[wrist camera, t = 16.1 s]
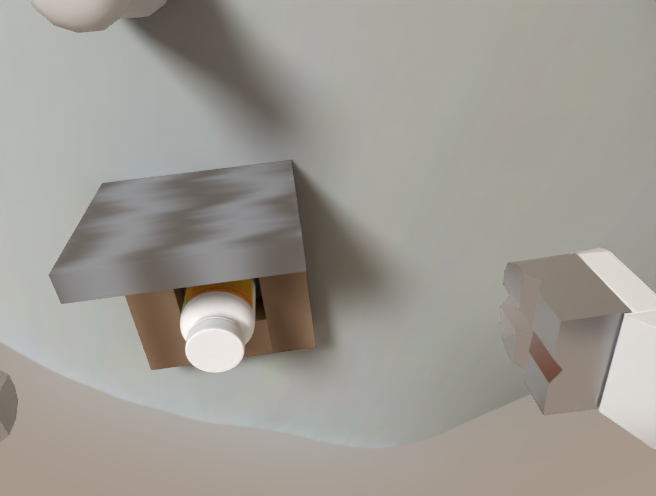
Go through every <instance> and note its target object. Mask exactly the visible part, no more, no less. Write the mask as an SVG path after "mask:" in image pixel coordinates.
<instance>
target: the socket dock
mask: <svg viewBox="0 0 656 496" xmlns="http://www.w3.org/2000/svg"><path fill="white" fill-rule="evenodd" d="M306 271H307V269H306V261H305V254H304V246H303V238H302V231H301V224H300V217H299V210H298V203H297V196H296V189H295V182H294V175H293V168H292V161H291V160H289V161H280V162H272V163H264V164H256V165H248V166H240V167H232V168H223V169H215V170H207V171H199V172H191V173H183V174H175V175H167V176H158V177H150V178H142V179H134V180H126V181H118V182H110V183H102V185H101V186H100V188H99V190H98V191H97V193H96V195H95V197H94V198H93V200H92V202H91V203H90V205H89V207H88V209H87V210H86V212H85V214H84V215H83V217H82V219H81V221H80V222H79V224H78V226H77V227H76V229H75V231H74V233H73V234H72V236H71V238H70V239H69V241H68V243H67V245H66V246H65V248H64V250H63V251H62V253H61V255H60V257H59V258H58V260H57V262H56V263H55V265H54V267H53V269H52V270H51V272H50V274H49V277H50V279H51V281H52V284H53V286H54V288H55V290H56V293H57V295H58V297H59V300H60V302H61V304H65V303H72V302H80V301H87V300H94V299H102V298H109V297H117V296H124V295H125V297H126V300H127V303H128V306H129V308H130V311H131V314H132V317H133V320H134V322H135V325H136V328H137V331H138V334H139V336H140V339H141V342H142V345H143V348H144V351H145V353H146V356H147V359H148V362H149V365H150V367H151V370H156V369H163V368H170V367H177V366H184V365H192V364H191V363H190V362H189V360H188V358H187V356H186V352H185V346H186V341H185V339H184V337H183V336H182V333H181V330H180V317H181V312H182V308H183V303H184V298H185V290H184V287H192V286H199V285H207V284H214V283H222V282H229V281H237V280H244V279H252V278H259V282H260V287H261V293H262V298H260V299H255V327H254V332H253V335H252V337H251V338H250V340H249V341H248V342H247V343H246V345H245V350H244V356H243V357H248V356H255V355H262V354H270V353H277V352H284V351H291V350H298V349H305V348H312V347H316V346H315V338H314V330H313V322H312V315H311V307H310V299H309V291H308V284H307V276H306Z"/></svg>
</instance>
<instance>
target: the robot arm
mask: <svg viewBox="0 0 656 496" xmlns="http://www.w3.org/2000/svg"><path fill="white" fill-rule="evenodd" d="M503 285H504V287H505V288H506V290H507V291H508V293H509V294H510V296H509V297H508V298H507V299H506V300H505V302H504V303H503V304H502V305H501V306H500V321H499V324H500V330H501V337H502V341H503V344H504V346H505V349H506V351H507V353H508V355H509V357H510V359H511V360H512V362H513V363H515V364H517V365H518V366H520V367H522V368H524V369H525V370H526V374H525V381H524V383H525V385H526V386H527V388H528V390H529V392H530V393H531V395H532V396H533V398H534V400H535V402H536V403H537V405H538V407H539V408H540V410H541V412H542V413H543V415H550V414H557V413H566V412H574V411H582V410H590V409H598V408H599V412H600V413H602V414H603V415H605V416H606V417H608V418H609V419H611V420H612V421H613V422H615V423H616V424H618V425H619V426H621V427H622V428H624V429H625V430H626V431H628V432H629V433H631V434H632V435H634V436H635V437H637V438H638V439H640V440H641V441H642V442H644V443H646V444H647V445H648V446H650V447H651V448H653V449H654V450H656V294H655V293H654V292H653V291H652V290H651V289H650V288H649V287H648V286H646V285H645V284H644V283H643V282H642V281H641V280H640V279H639V278H638V277H637V276H636V275H635V274H634V273H632V272H631V271H630V270H629V269H628V268H627V267H626V266H625V265H624V264H623V263H622V262H621V261H620V260H619V259H617V258H616V257H615V256H614V255H613V254H612V253H611V252H610V251H608V250H606V249H603V248H596V249H590V250H584V251H578V252H572V253H569V254H565V255H558V256H551V257H544V258H537V259H530V260H523V261H516V262H509V263H508V264H507V267H506V269H505V271H504V279H503ZM17 404H18V399H17V394H16V390H15V386H14V384H13V382H12V380H11V379H10V376H9V375H8V374H6V373H5V372H3V371H1V370H0V442H1V441H2V440H4V439H5V438H6V437H7V436H8V435H9V434H10V431H11V429H12V427H13V425H14V422H15V420H16V414H17Z"/></svg>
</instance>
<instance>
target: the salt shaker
mask: <svg viewBox="0 0 656 496" xmlns="http://www.w3.org/2000/svg"><path fill="white" fill-rule="evenodd" d="M30 2H31V4H32V6H33V7H34V8H35V9H36V10H37V11H38V12H39V13H40V14H42V15H43V16H44V17H45V18H46V19H47V20H49V21H50V22H51V23H52V24H53V25H56V26H59V27H62V28H65V29H68V30H71V31H74V32H91V31H101V30H105V29H106V28H108V27H109V26H110V25H112V24H113V23H114V22H116V21H117V20H118V19H120V18H121V17H122V18H138V17H149V16H150V15H151V14H152V13H154V12H155V11H156V10H158V9H159V8H160V7H162V6H163V5H164V4H166V2H167V0H30Z"/></svg>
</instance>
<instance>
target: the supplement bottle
mask: <svg viewBox="0 0 656 496" xmlns="http://www.w3.org/2000/svg"><path fill="white" fill-rule="evenodd" d="M255 299H256V278H252V279H244V280H237V281H229V282H222V283H214V284H207V285H199V286H192V287H187V288H186V293H185V298H184V303H183V308H182V312H181V317H180V330H181V333H182V336H183V337H184V339H185V341H186V346H185V352H186V356H187V358H188V360H189V362H190V363H191V364H192V365H193V366H195V367H196V368H198V369H200V370H203V371H206V372H212V373H218V372H224V371H228V370H230V369H232V368H234V367H235V366H237V365H238V364H239V363H240V361H241V360H242V358H243V356H244V350H245V345H246V343H247V342H248V341H249V340H250V338H251V337H252V335H253V332H254V327H255Z"/></svg>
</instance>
